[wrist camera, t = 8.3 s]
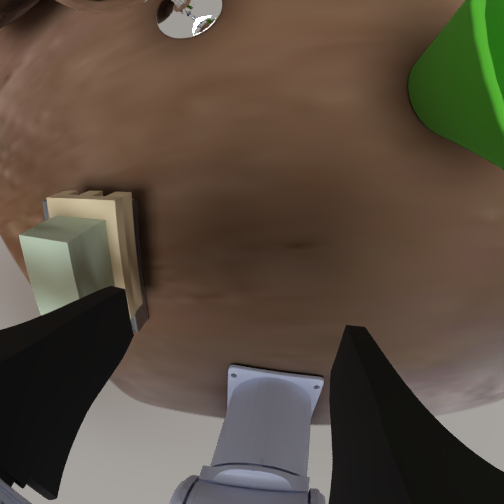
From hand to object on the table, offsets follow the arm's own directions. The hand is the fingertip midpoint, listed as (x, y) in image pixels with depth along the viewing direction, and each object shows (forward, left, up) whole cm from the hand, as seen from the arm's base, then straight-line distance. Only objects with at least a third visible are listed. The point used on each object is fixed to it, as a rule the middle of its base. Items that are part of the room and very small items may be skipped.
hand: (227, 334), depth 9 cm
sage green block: (-2, +11, -8) cm, 14 cm away
